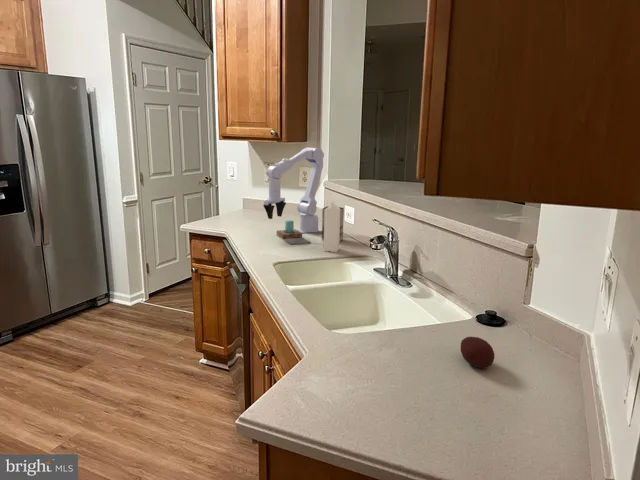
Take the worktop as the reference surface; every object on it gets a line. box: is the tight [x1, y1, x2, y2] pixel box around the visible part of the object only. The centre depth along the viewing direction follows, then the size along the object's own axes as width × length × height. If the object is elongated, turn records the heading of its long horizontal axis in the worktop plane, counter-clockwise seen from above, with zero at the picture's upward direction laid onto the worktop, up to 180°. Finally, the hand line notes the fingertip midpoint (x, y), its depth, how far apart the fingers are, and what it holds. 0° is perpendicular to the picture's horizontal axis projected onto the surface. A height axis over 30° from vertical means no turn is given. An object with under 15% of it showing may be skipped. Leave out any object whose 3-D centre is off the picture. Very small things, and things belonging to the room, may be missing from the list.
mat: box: [283, 237, 311, 246], centre depth 224 cm, size 10×10×1 cm
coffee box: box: [321, 206, 345, 242], centre depth 227 cm, size 9×6×16 cm
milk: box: [323, 201, 340, 253], centre depth 207 cm, size 6×6×22 cm
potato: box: [460, 336, 495, 369], centre depth 109 cm, size 7×10×6 cm
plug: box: [284, 220, 295, 233], centre depth 233 cm, size 4×4×8 cm
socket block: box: [276, 228, 303, 241], centre depth 233 cm, size 10×10×2 cm
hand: (274, 217), depth 233 cm, fingers open, 7 cm apart
